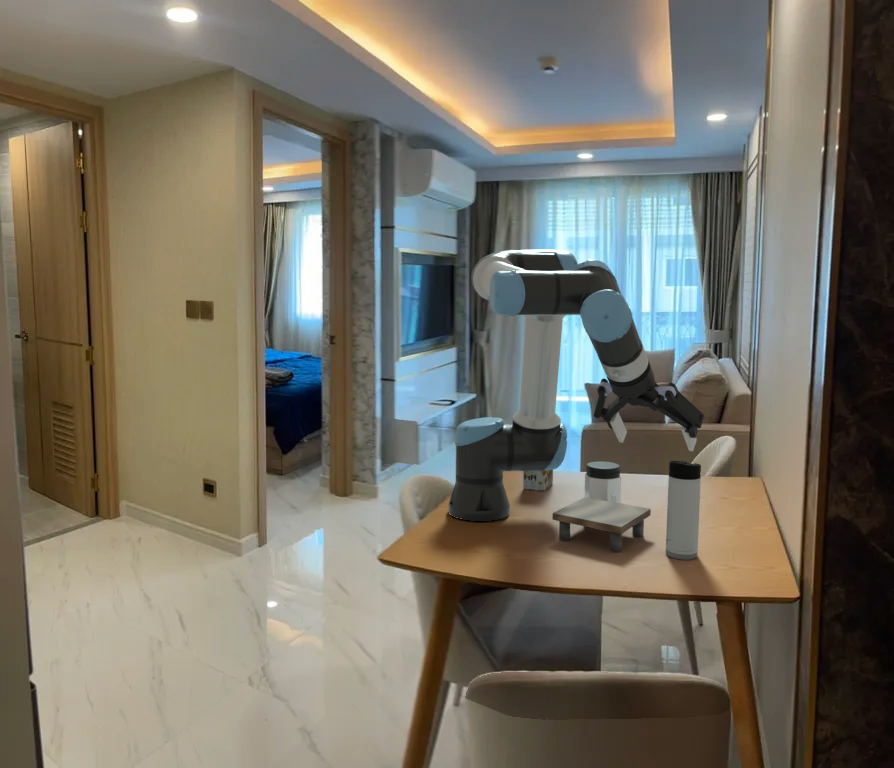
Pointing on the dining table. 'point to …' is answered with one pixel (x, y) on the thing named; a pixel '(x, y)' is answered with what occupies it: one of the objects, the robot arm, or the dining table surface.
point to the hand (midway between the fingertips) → (657, 441)
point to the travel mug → (683, 510)
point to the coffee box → (537, 479)
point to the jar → (603, 481)
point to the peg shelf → (602, 519)
